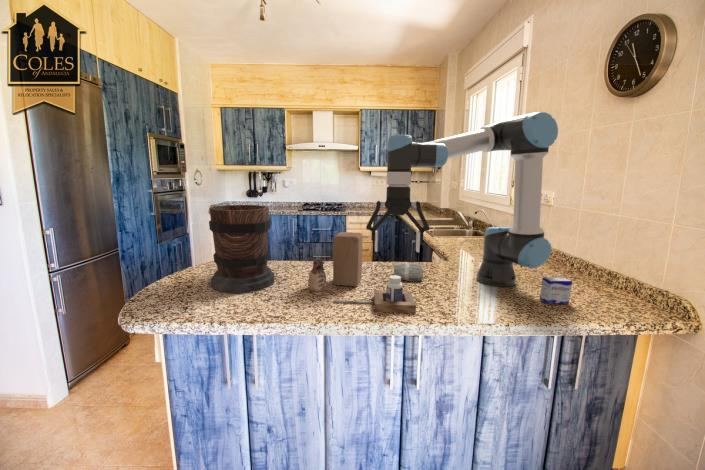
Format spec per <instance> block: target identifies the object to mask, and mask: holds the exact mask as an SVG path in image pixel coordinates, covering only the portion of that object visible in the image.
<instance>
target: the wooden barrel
mask: <svg viewBox="0 0 705 470" xmlns="http://www.w3.org/2000/svg"><path fill="white" fill-rule="evenodd" d="M209 216H210V220H208V225H209V230H210V232H212V237H213V239H212V240H213V248H214V253H213V255H212V256H213V257H212V258H213V262H214V264H215V265H216V268H217V270H215V271H214V273H213V276H212V277H211V278H210V287H211V288H212V290H213V291H216V292H217V293H218V292H219V293H221V294H223V293H225V294H246V293H253V292H259V291H261V290H265V289H267V288H270V287H271V286H272V285H273V284H274V283H275V272H273V271H272V269H271V268H270V267H269V266H268V261H269V260H270V253H271V252H270V250H269V230H270V229H271V226H272V224H271V218H269V217H270V207H269V206H267V205H258V204H257V205H255V204H231V205H230V204H229V205H218V206H212V207H209Z"/></svg>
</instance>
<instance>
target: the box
mask: <svg viewBox="0 0 705 470" xmlns="http://www.w3.org/2000/svg"><path fill="white" fill-rule="evenodd" d="M572 285H573V281H572V280H570V279H568V278H566V277H561V276H559V277H558V276H555V277H550V276H549V277H547V276H544V277H542V279H541V288H540V294H539V295H540V296H539V300H540V301H541V302H543V303H545V304H547V305H569V304H570V298H571V292H572V287H573V286H572Z"/></svg>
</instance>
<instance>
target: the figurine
mask: <svg viewBox="0 0 705 470" xmlns="http://www.w3.org/2000/svg"><path fill="white" fill-rule="evenodd" d="M312 263H313V264H312V269H311V270H310V272H309V273H308V274H309V275H308V283H307V288H308V290H309V291H311V292H316V293H317V292H324V291H326V290H327V289H328V283H327V275H326V272H325V269H326V268H324V260H322V258H320V257H319V258H318V257H316V258H314V259H313V261H312Z"/></svg>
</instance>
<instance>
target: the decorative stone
mask: <svg viewBox="0 0 705 470" xmlns="http://www.w3.org/2000/svg"><path fill="white" fill-rule="evenodd" d="M393 275H397V276H400V277H401V281H406V282H408V281H409V282H421V281H422V280H423V279H424V268H423V266H422V264H418V263H402V262H394V263H393Z"/></svg>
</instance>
